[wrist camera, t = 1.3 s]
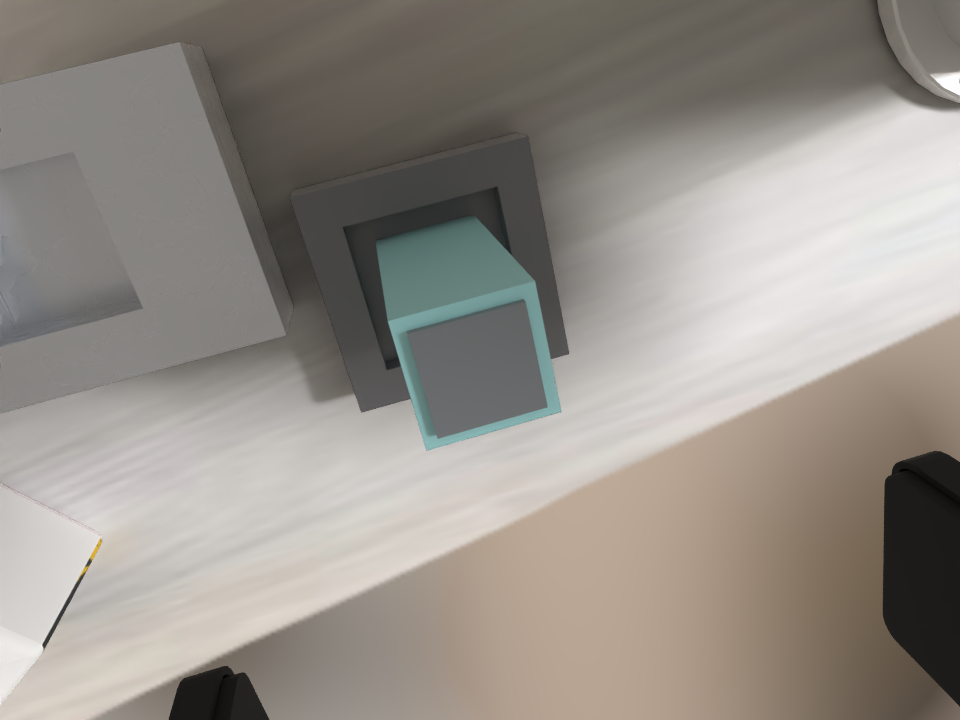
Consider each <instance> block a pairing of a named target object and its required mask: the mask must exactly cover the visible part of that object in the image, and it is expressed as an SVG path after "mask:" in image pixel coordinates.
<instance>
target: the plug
mask: <svg viewBox="0 0 960 720" xmlns="http://www.w3.org/2000/svg"><path fill="white" fill-rule="evenodd" d="M375 242H376V248H377V255H378V261H379V268H380V274H381V281H382V287H383V294H384V300H385V307H386V313H387V319H388V324H389V327H390V330H391V334H392V337H393V340H394V344H395V347H396V350H397V354H398V357H399V361H400V364H401V367H402V371H403V374H404V377H405V381H406V384H407V387H408V391H409V394H410V397H411V401H412V404H413V407H414V411H415V414H416V417H417V421H418V424H419V427H420V431H421V434H422V438H423V441H424V444H425V448H426V451H427V450H431V449H434V448H438V447H441V446H445V445H448V444H451V443H455V442H458V441H462V440H465V439H469V438H472V437H476V436H479V435H483V434H486V433H490V432H493V431H497V430H500V429H504V428H507V427H511V426H514V425H517V424H521V423H524V422H528V421H531V420H535V419H538V418H542V417H545V416H549V415H552V414H556V413H559V412H561V407H560V402H559V397H558V392H557V387H556V382H555V377H554V372H553V367H552V362H551V357H550V353H549V348H548V343H547V338H546V333H545V328H544V323H543V318H542V313H541V308H540V303H539V298H538V293H537V288H536V283H535V280H534V279H533V278H532V277H531V276H530V275H529V274H528V273H527V272H526V271H525V270H524V268H523V267H522V266H521V265H520V264H519V263H518V262H517V261H516V260H515V259H514V258H513V257H512V255H511V254H510V253H509V252H508V251H507V250H506V249H505V248H504V247H503V246H502V245H501V244H500V242H499V241H498V240H497V239H496V238H495V237H494V236H493V235H492V234H491V233H490V232H489V231H488V229H487V228H486V227H485V226H484V225H483V224H482V223H481V222H480V221H479V220H478V219H477V217H476V216H475V215H470V216H466V217H463V218H459V219H455V220H451V221H447V222H444V223H440V224H436V225H432V226H428V227H425V228H421V229H417V230H413V231H410V232H406V233H402V234H398V235H394V236H391V237H387V238H383V239H379V240H376V241H375Z"/></svg>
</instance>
